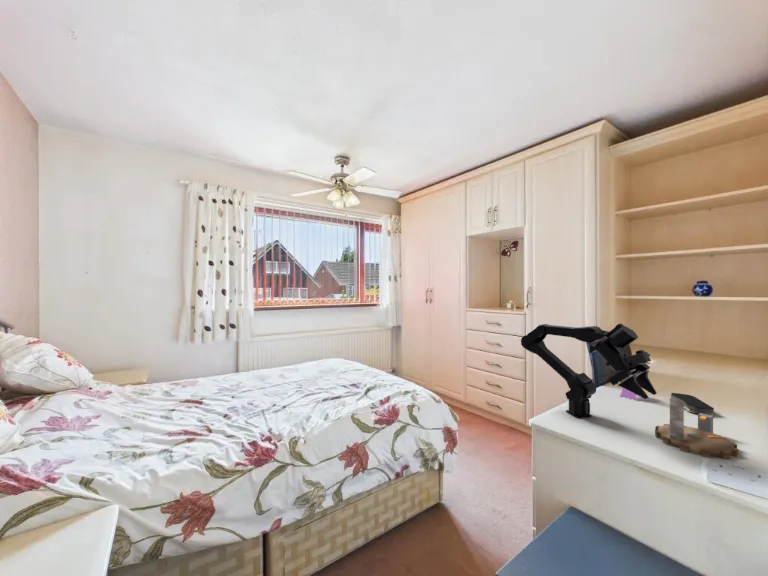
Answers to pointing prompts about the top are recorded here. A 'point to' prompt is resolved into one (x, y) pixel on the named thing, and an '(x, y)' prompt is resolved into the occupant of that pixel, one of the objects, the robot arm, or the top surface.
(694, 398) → the black sponge
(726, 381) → the top surface
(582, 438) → the top surface
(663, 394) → the top surface
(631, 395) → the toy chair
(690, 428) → the sprocket
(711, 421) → the grey toy mallet
